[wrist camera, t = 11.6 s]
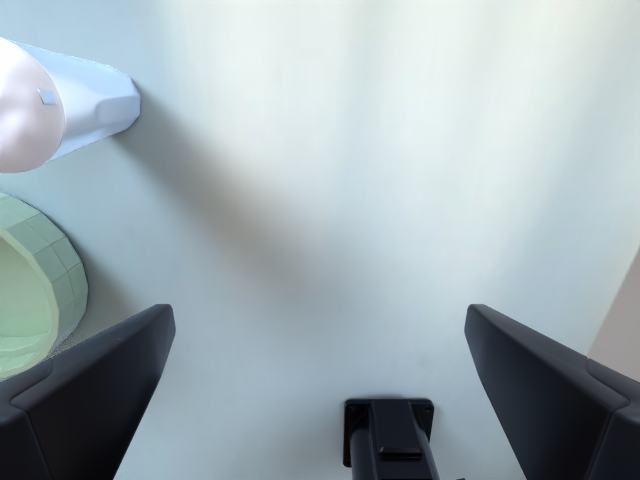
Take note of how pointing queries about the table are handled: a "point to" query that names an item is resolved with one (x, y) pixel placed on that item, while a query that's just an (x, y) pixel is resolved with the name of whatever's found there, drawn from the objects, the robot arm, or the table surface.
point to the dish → (35, 286)
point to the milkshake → (57, 104)
